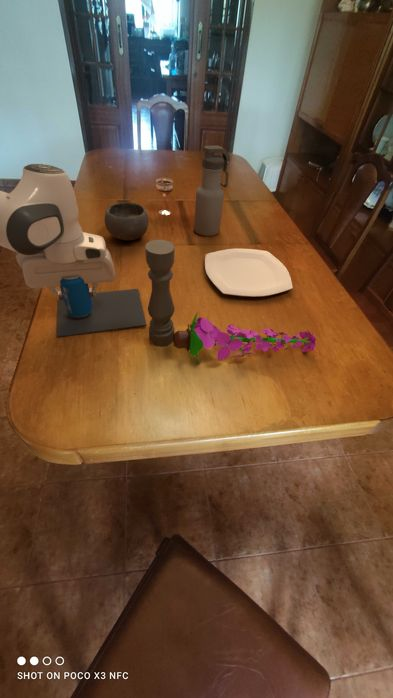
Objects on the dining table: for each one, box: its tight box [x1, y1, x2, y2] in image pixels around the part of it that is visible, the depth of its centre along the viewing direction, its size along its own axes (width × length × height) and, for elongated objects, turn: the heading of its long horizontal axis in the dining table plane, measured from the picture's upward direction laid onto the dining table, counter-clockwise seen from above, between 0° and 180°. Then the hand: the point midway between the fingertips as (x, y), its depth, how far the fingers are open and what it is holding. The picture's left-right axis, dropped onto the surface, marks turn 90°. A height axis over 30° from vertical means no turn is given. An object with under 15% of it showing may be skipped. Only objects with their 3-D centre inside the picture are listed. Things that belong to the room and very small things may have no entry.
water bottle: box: [193, 145, 231, 237], centre depth 111 cm, size 10×10×28 cm
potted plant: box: [172, 311, 317, 364], centre depth 76 cm, size 12×16×35 cm
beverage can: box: [59, 276, 93, 317], centre depth 79 cm, size 6×6×12 cm
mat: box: [55, 288, 148, 339], centre depth 85 cm, size 22×16×1 cm
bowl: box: [104, 201, 150, 241], centre depth 110 cm, size 15×15×10 cm
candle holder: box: [144, 239, 176, 348], centre depth 71 cm, size 6×6×25 cm
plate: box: [204, 248, 294, 298], centre depth 101 cm, size 27×27×2 cm
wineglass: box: [155, 177, 174, 216], centre depth 126 cm, size 7×7×12 cm
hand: (77, 296), depth 80 cm, fingers closed on beverage can, 6 cm apart
